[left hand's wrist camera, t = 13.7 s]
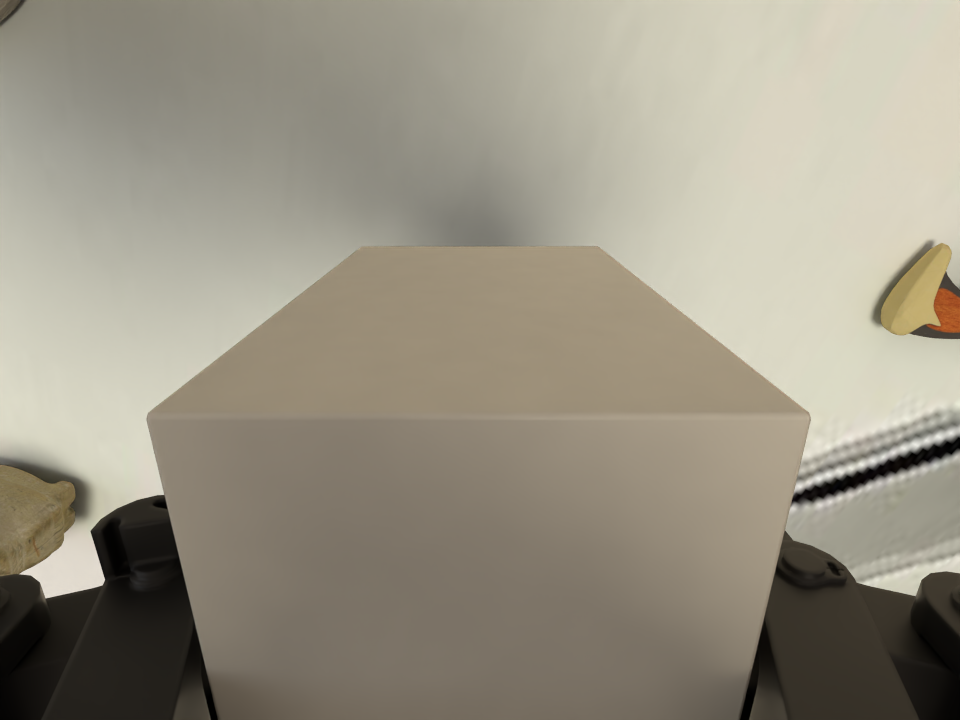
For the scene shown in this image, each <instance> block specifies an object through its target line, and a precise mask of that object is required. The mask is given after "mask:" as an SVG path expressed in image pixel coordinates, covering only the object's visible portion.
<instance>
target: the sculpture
mask: <svg viewBox="0 0 960 720" xmlns="http://www.w3.org/2000/svg"><path fill="white" fill-rule="evenodd" d="M74 499H75V489H74V485H73V484H72V483H70V482H67V481H59V482H57V483H55V484H51V483H46V482H44V481H43V480H41V479H40V478H38V477H36V476H34V475H32V474H30V473H27V472H25V471H23V470H20V469H18V468H14V467H10V466H6V465H0V576H5V575H11V574H20V573H21V572H23V571H25V570H27V569H29V568H31V567H33V566H35V565H36V564H38V563H40V562H41V561H43V560H44V559H46V558H47V557H48V556H50V555H51V553H53V552H54V551H56V550H57V549H58V548H59V547H60V546H61V545H62V543H63V541H64V533H65V532H66V531H67V530H68V529H69V528H70V527H71V526H72V525H73V524H74V521H75V511H74V510H73V508H71V507H70V505H71V504H72V502H73V501H74Z"/></svg>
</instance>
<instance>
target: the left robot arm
mask: <svg viewBox="0 0 960 720" xmlns="http://www.w3.org/2000/svg"><path fill="white" fill-rule="evenodd" d="M20 1H21V0H0V22H1V21H2V20H3V19H5V18H6V17H7V16H8V15H9V14H10V13H11V12H12V11H13V10H14V9H15V8H16V6H17V5H18V4H19V3H20ZM91 534H92V538H93V541H94V544H95V547H96V551H97V554H98V557H99V561H100V564H101V567H102V571H103V574H104V577H105V582H104V584H103V586H99V587H96V588H92V589H88V590H83V591H78V592H74V593H69V594H65V595H60V596H55V597H51V598H46V599H45V596H44V593H43V590H42V588H41V585H40V582H38V581H37V580H36V579H35V578H33V577H32V576H29V575H20V574H11V575H5V576H0V720H218V718H217V713H216V709H215V705H214V701H213V696H212V692H211V688H210V684H209V680H208V675H207V671H206V667H205V663H204V659H203V654H202V650H201V646H200V642H199V638H198V633H197V629H196V625H195V621H194V617H193V612H192V608H191V604H190V600H189V596H188V591H187V587H186V583H185V579H184V575H183V570H182V566H181V562H180V558H179V554H178V549H177V545H176V541H175V537H174V533H173V528H172V524H171V520H170V516H169V512H168V507H167V503H166V499H165V495H157V496H153V497H148V498H144V499H140V500H136V501H134V502H132V503H129V504H127V505H125V506H122V507H120V508H117V509H116V510H114V511H113V512H111V513H110V514H108V515H107V516H105V517H104V518H102V519H101V520H100V521H99V522H98V523H97V524H96V526H95V527H94V528H93V529H92V530H91ZM740 720H960V574H959V573H953V572H938V573H930V574H929V575H928V576H926V577H925V578H924V579H922V581H921V583H920V586H919V589H918V592H917V595H916V596H912V595H907V594H903V593H898V592H893V591H889V590H884V589H879V588H875V587H870V586H866V585H863V584H859V583H856V581H855V579H854V577H853V576H852V575H851V573H850V572H849V571H848V569H847V568H846V567H845V566H844V565H843V564H842V563H840V562H839V561H838V560H836V559H835V558H834V557H832V556H831V555H830V554H828V553H825V552H823V551H821V550H819V549H817V548H815V547H813V546H811V545H807V544H803V543H800V542H796V541H793V540H792V538H791V537H790V536H789V535H788V534H787V532H786V531H784V535H783V540H782V544H781V548H780V552H779V557H778V561H777V565H776V569H775V574H774V578H773V582H772V586H771V591H770V595H769V599H768V603H767V608H766V612H765V616H764V620H763V625H762V629H761V633H760V637H759V642H758V646H757V650H756V654H755V659H754V663H753V667H752V671H751V676H750V680H749V684H748V688H747V693H746V697H745V701H744V705H743V710H742V714H741V718H740Z"/></svg>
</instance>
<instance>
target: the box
mask: <svg viewBox="0 0 960 720" xmlns="http://www.w3.org/2000/svg"><path fill="white" fill-rule="evenodd" d="M810 421H811V419H810V414H809V412H807V411H806V410H805V409H803V408H802V407H801V406H800V405H798V404H797V403H796V402H795V401H793V400H792V399H791V398H790V397H788V396H787V395H786V394H784V393H783V392H782V391H781V390H779V389H778V388H777V387H776V386H774V385H773V384H772V383H771V382H769V381H768V380H767V379H765V378H764V377H763V376H762V375H760V374H759V373H758V372H757V371H755V370H754V369H753V368H752V367H750V366H749V365H748V364H746V363H745V362H744V361H743V360H741V359H740V358H739V357H738V356H736V355H735V354H734V353H733V352H731V351H730V350H729V349H727V348H726V347H725V346H724V345H722V344H721V343H720V342H719V341H717V340H716V339H715V338H714V337H712V336H711V335H710V334H708V333H707V332H706V331H705V330H703V329H702V328H701V327H700V326H698V325H697V324H696V323H694V322H693V321H692V320H691V319H689V318H688V317H687V316H686V315H684V314H683V313H682V312H681V311H679V310H678V309H677V308H675V307H674V306H673V305H672V304H670V303H669V302H668V301H667V300H665V299H664V298H663V297H662V296H660V295H659V294H658V293H656V292H655V291H654V290H653V289H651V288H650V287H649V286H648V285H646V284H645V283H644V282H643V281H641V280H640V279H639V278H637V277H636V276H635V275H634V274H632V273H631V272H630V271H629V270H627V269H626V268H625V267H624V266H622V265H621V264H620V263H618V262H617V261H616V260H615V259H613V258H612V257H611V256H610V255H608V254H607V253H606V252H605V251H603V250H602V249H601V248H599V247H597V246H363V247H361V248H359V249H358V250H357V251H355V252H354V253H353V254H352V255H350V256H349V257H348V258H346V259H345V260H344V261H343V262H341V263H340V264H339V265H337V266H336V267H335V268H334V269H332V270H331V271H330V272H328V273H327V274H326V275H325V276H323V277H322V278H321V279H319V280H318V281H317V282H316V283H314V284H313V285H312V286H310V287H309V288H308V289H307V290H305V291H304V292H303V293H301V294H300V295H299V296H298V297H296V298H295V299H294V300H292V301H291V302H290V303H289V304H287V305H286V306H285V307H283V308H282V309H281V310H280V311H278V312H277V313H276V314H274V315H273V316H272V317H271V318H269V319H268V320H267V321H265V322H264V323H263V324H262V325H260V326H259V327H258V328H256V329H255V330H254V331H253V332H251V333H250V334H249V335H247V336H246V337H245V338H244V339H242V340H241V341H240V342H238V343H237V344H236V345H235V346H233V347H232V348H231V349H230V350H228V351H227V352H226V353H224V354H223V355H222V356H221V357H219V358H218V359H217V360H215V361H214V362H213V363H212V364H210V365H209V366H208V367H206V368H205V369H204V370H203V371H201V372H200V373H199V374H197V375H196V376H195V377H194V378H192V379H191V380H190V381H188V382H187V383H186V384H185V385H183V386H182V387H181V388H179V389H178V390H177V391H176V392H174V393H173V394H172V395H170V396H169V397H168V398H167V399H165V400H164V401H163V402H161V403H160V404H159V405H158V406H156V407H155V408H154V409H152V410H151V411H150V412H149V413H148V415H147V423H148V428H149V432H150V436H151V440H152V444H153V449H154V453H155V457H156V461H157V465H158V470H159V474H160V478H161V482H162V486H163V491H164V495H165V499H166V503H167V507H168V512H169V516H170V520H171V524H172V528H173V533H174V537H175V541H176V545H177V549H178V554H179V558H180V562H181V566H182V570H183V575H184V579H185V583H186V587H187V591H188V596H189V600H190V604H191V608H192V612H193V617H194V621H195V625H196V629H197V633H198V638H199V642H200V646H201V650H202V654H203V659H204V663H205V667H206V671H207V675H208V680H209V684H210V688H211V692H212V696H213V701H214V705H215V709H216V713H217V718H218V720H740V718H741V714H742V710H743V705H744V701H745V697H746V693H747V688H748V684H749V680H750V676H751V671H752V667H753V663H754V659H755V654H756V650H757V646H758V642H759V637H760V633H761V629H762V625H763V620H764V616H765V612H766V608H767V603H768V599H769V595H770V591H771V586H772V582H773V578H774V574H775V569H776V565H777V561H778V557H779V552H780V548H781V544H782V540H783V535H784V531H785V527H786V523H787V518H788V514H789V510H790V506H791V501H792V497H793V493H794V489H795V484H796V480H797V476H798V472H799V467H800V463H801V459H802V455H803V450H804V446H805V442H806V438H807V433H808V429H809V425H810Z"/></svg>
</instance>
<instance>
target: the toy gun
mask: <svg viewBox="0 0 960 720" xmlns="http://www.w3.org/2000/svg"><path fill="white" fill-rule="evenodd" d="M951 254H952V253H951V249H950V248H949V246H948V245H945V244H943V243H941V244H939V245H937V246H935V247H933V248H932V249H930V250H929V251H928V252H927V253H926V254H925V255H924V256H922V257H921V258H920V259H919V260H918V261H917V262H916V263H915V264H914V266H913V267H912V268H911V269H910V270H909V271H908V272H907V273H906V274H905V275H904V276H903V277H902V278H901V279H900V280H899V282H898V283H897V284H896V285H895V287H894V288H893V289H892V291H891V292H890V294H889V295H888V297H887V299H886V300H885V302H884V304H883V307H882V310H881V323H882V325H883V327H884V328H885V329H887V330H888V331H890V332H891V333H893V334H896V335H906V334H909V333H910V334H914V335H918V336H923V337H930V338H942V339H960V290H959V289H958V288H957V287H956V286H955V285H954V284H953V283H952V281H951V280H950V278H949V277H948V276H947V273H946V269H947V267H948V264H949V261H950V259H951Z"/></svg>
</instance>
